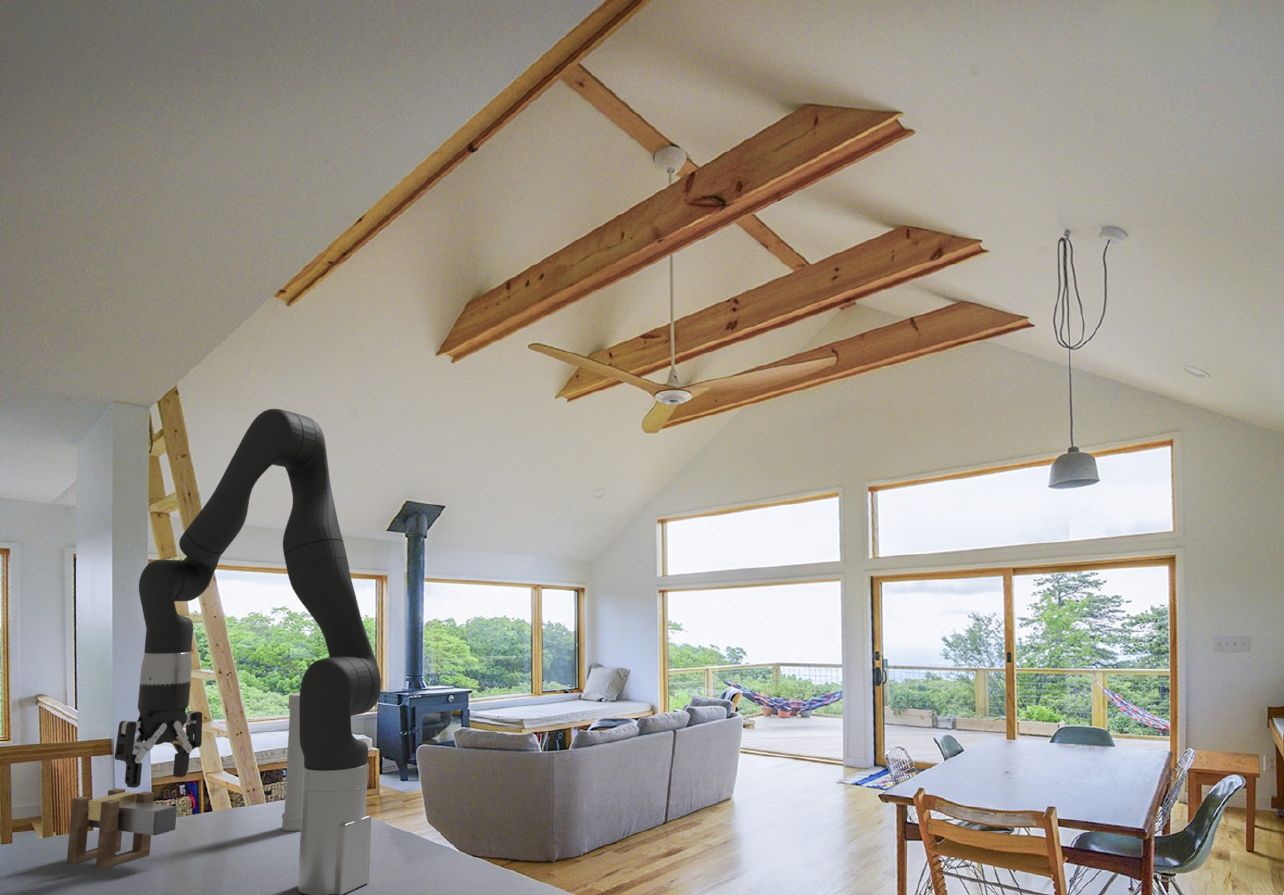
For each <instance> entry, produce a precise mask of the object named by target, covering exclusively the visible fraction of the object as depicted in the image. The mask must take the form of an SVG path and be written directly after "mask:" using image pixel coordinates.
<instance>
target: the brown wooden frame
mask: <svg viewBox="0 0 1284 895" xmlns="http://www.w3.org/2000/svg"><path fill="white" fill-rule="evenodd" d="M123 792H126V789H125V788H114V789H109V790H107V796H110V795H114V794H118V793H123ZM136 793H137V798H136V802H141V803H150V804H154V798H155V792H154V791H142V792H136ZM89 800H91V797H90V796H78V797H73V798H72V801H71V810H70V820H69V822H70V823H69V831H68V832H69V833H68V845H67V854H66V863H67V862H69V863H68V864H71V863H74V864H73V865H76V863H77V864H80V863H84V862H86V861H90V860H89V859H91V860H93V859H92V858H94V859H96V862H95V864H96V865H95V868H97V869H98V868H99V869H108V868H111V867H114V866H117V865H118V866H119V865H121V864H125V863H128V862H131V861H134V860H136V859H140V858H143V857H146V856H149V855H150V854H151V853H150V852H151V851H150V850H151V840H152V839H151V838H152V835H148V834H141V833H133V837H132V838H133V840H132V850H128V851H125V852H122V853H119V852H121V848H122V837H123V835H122V834H123V831H118V830H117V829H118V817H119V805H120V801H119V800H107V801H103V802H102V803H101V814H100V826H99V828H98V840H97V847H96V848H91V849H89V850H87V841H88V831H89V827H88V820H89V819H88V810H89V807H88V803H89ZM117 852H118V854H116V853H117ZM95 857H97V858H95Z"/></svg>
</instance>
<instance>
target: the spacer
mask: <svg viewBox="0 0 1284 895" xmlns="http://www.w3.org/2000/svg"><path fill="white" fill-rule="evenodd" d="M137 793H138V792H130V791H125V792H123V793H118V794H114V795H110V796H108V795H106V796H101V797H97V798H92V799H90V800H89V803H88V807H89V810H88V819H89V820H97V821H100V814H101V803H102V802H103V801H107V800H119V801H120V803H124V802H128V801H132V802H136V798H137Z"/></svg>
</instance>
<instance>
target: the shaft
mask: <svg viewBox="0 0 1284 895" xmlns="http://www.w3.org/2000/svg"><path fill="white" fill-rule="evenodd" d="M177 810H178V806H177V805H176V806H175V805H169V804H168V805H166V804H157V803H153V804H150V803H141V802H132V801H128V802H124V803H120V805H119V817H118V829H117V830H118V831H122V832H125V833H133V834H134V833H141V834H148V835H151V836H159V835H162V834H166V833H168V832H173V831H176V825H177V824H176V822H177V812H178V811H177ZM99 826H100V821H97V820H88V828H95V829H96V828H97V829H99Z"/></svg>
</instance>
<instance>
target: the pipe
mask: <svg viewBox="0 0 1284 895" xmlns="http://www.w3.org/2000/svg"><path fill="white" fill-rule="evenodd" d="M288 664H289V665H290V666H292V668H293V669H295V671H296V672H297V674H298V675H299V678H300V681H301V682H302V679H303V676H302V675H301V673H300V672H299V670H298V669H297V668H296V666H294V665H293V663H291V662H288ZM299 701H300V692H294V693H290V694H289V695H288V704H287V709H288V710H289V717H288V718H289V722H288V738H287V740H288V741H287V758H286V775H285V776H286V780H285V798H284V799H285V800H284V813H282V814H281V820H282V823H281V828H282V830H283V831H287V832H297V831H300V832H301V813H302V793H303V774H304V755H303V752H302V749H301V746H300V736H299V734H300V725H299Z"/></svg>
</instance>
